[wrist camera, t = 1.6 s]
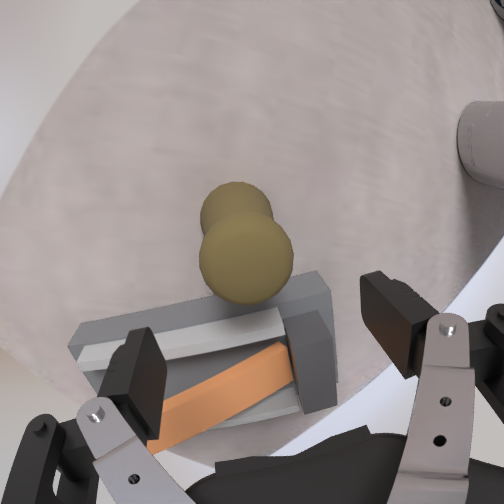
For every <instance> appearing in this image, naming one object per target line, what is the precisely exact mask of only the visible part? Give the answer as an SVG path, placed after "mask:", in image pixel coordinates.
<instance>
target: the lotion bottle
mask: <svg viewBox="0 0 504 504" xmlns="http://www.w3.org/2000/svg"><path fill="white" fill-rule="evenodd" d="M490 1H491V3H492V5H493V7H494V9H495V10H496V12H497V13H498V14H499V16H500V17H501V18H502V19H503V20H504V0H490Z"/></svg>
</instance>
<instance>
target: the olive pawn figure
mask: <svg viewBox="0 0 504 504" xmlns="http://www.w3.org/2000/svg"><path fill="white" fill-rule="evenodd" d="M200 220H201V226H202V230H203V233H204V236H205V237H204V239H203V242H202V245H201V249H200V253H199V263H200V270H201V273H202V275H203V278H204V281H205V282H206V284H207V285H208V287H209V288H210V289H211V290H212V291H213V293H214V294H215V295H217V296H218V297H220V298H222V299H223V300H225V301H227V302H230V303H234V304H238V305H254V304H258V303H261V302H264V301H267V300H269V299H270V298H272V297H273V296H275V295H276V294H278V293H279V292H280V291H281V289H282V288H283V287H284V286H285V285H286V284H287V282H288V280H289V277H290V275H291V273H292V269H293V258H294V253H293V249H292V245H291V241H290V239H289V238H288V236H287V235H286V233H285V232H284V230H283V229H282V227H281V226H280V225H279V224H277V223H276V222H275V221H274V219H273V213H272V209H271V205H270V202H269V200H268V199H267V198H266V196H265V195H264V193H263V192H262V191H260V190H259V189H258V188H256V187H255V186H253V185H250V184H247V183H244V182H230V183H227V184H224V185H220V186H219V187H218V188H216V189H215V190H213V191H212V192H211V193H210V194H209V195H208V197H207V198H206V199H205V201H204V203H203V206H202V209H201V212H200Z"/></svg>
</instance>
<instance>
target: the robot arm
mask: <svg viewBox="0 0 504 504" xmlns="http://www.w3.org/2000/svg"><path fill="white" fill-rule="evenodd" d="M457 136H458V149H459V154H460V158H461V161H462V163H463V166H464V168H465V170H466V171H467V172H468V174H469V175H470V176H471V177H472V178H473V179H474V180H476V181H478V182H481V183H484V184H488V185H491V186H494V187H497V188H501V189H503V190H504V102H500V101H477V102H474V103H471V104H470V105H469V106H467V108H466V109H465V110H464V111H463V114H462V116H461V118H460V122H459V126H458V135H457ZM360 296H361V314H362V318H363V321H364V323H365V325H366V327H367V328H368V329H369V331H370V332H371V333H372V335H373V336H374V337H375V339H376V340H377V341H378V343H379V344H380V345H381V347H382V348H383V350H384V351H385V352H386V354H387V355H388V356H389V358H390V359H391V361H392V362H393V363H394V365H395V366H396V367H397V369H398V370H399V372H400V373H401V374H402V376H403V377H404V379H408V378H410V377H412V376H415V375H416V376H417V377H418V378H419V380H418V385H417V390H416V396H415V400H414V405H413V410H412V414H411V418H410V423H409V427H408V430H407V434H406V436H405V435H401V434H394V433H375V434H371V433H370V431H369V429H368V427H367V425H364V426H362V427H359V428H356V429H353V430H350V431H347V432H344V433H341V434H338V435H335V436H332V437H329V438H328V439H326V440H324V441H322V442H320V443H318V444H316V445H315V446H313V447H311V448H309V449H307V450H305V451H303V452H301V453H299V454H296V455H294V456H275V457H273V456H251V457H246V458H240V459H234V460H228V461H221V462H215V473H213V474H211V475H209V476H206V477H204V478H202V479H201V480H199V481H197V482H196V483H194V484H193V485H192V486H190V487H189V488H188V489H187V490H186V491H184V490H183V489H182V488H181V487H180V486H179V485H178V484H177V483H176V482H175V480H174V479H173V478H172V477H171V476H170V475H169V474H168V473H167V471H166V470H165V469H164V468H163V467H162V466H161V465H160V463H159V462H158V461H157V460H156V459H155V458H154V456H153V455H152V454H151V453H150V451H149V450H148V449H147V448H146V447H147V440H159V434H160V426H161V417H162V409H163V401H164V394H165V386H166V379H167V365H166V361H165V358H164V356H163V354H162V352H161V350H160V347H159V345H158V343H157V341H156V339H155V336H154V334H153V332H152V330H151V329H150V328H149V327H144V328H138V329H133V330H130V331H129V333H128V335H127V338H126V341H125V344H123V345H120V346H119V347H118V348H117V349H116V351H115V352H114V353H113V354H112V357H111V359H110V362H109V365H108V367H107V370H106V372H107V373H105V375H104V378H103V381H102V384H101V387H100V389H99V392H98V395H97V398H93V399H91V400H89V401H87V402H86V403H84V404H83V405H82V406H81V407H80V409H79V410H78V412H77V416H76V419H72V420H69V421H66V422H62V423H58V421H57V420H56V419H55V418H54V417H53V416H52V415H50V414H42V415H39V416H37V417H35V418H34V419H32V421H30V423H29V424H28V426H27V427H26V430H25V432H24V435H23V438H22V440H21V443H20V445H19V448H18V451H17V454H16V456H15V459H14V462H13V466H12V468H11V471H10V474H9V478H8V481H7V484H6V487H5V491H4V494H3V498H2V502H1V504H96V497H97V490H98V482H99V476H100V478H101V480H102V481H103V483H104V485H105V487H106V488H107V490H108V492H109V493H110V495H111V496H112V498H113V500H114V501H115V503H116V504H504V468H503V467H500V466H496V465H492V464H489V463H485V462H482V461H479V460H475V459H472V458H469V457H470V450H471V440H472V431H473V430H472V429H473V418H474V397H475V386H476V387H477V388H478V390H479V391H480V392H481V394H482V395H483V396H484V398H485V399H486V400H487V402H488V403H489V404H490V406H491V407H492V409H493V410H494V411H495V413H496V414H497V415H498V417H499V418H500V419H501V421H502V422H503V424H504V304H495V305H493V306H491V307H490V308H489V309H488V310H487V314H486V318H485V320H481V321H475V322H470V323H467V322H466V320H465V319H464V318H462V317H461V316H459V315H456V314H452V313H441V314H440V313H439V312H438V311H437V310H436V309H434V308H433V307H432V306H431V305H430V304H429V303H428V302H427V301H425V300H424V299H423V298H422V297H420V295H419V294H417V293H416V292H415V291H413V289H412V288H411V287H409V286H408V285H407V284H406V283H404V282H401V281H398V280H396V279H393V280H390V279H389V278H388V277H387V276H386V275H385V274H383V273H382V272H381V271H375V272H372V273H368V274H365V275H362V276H361V277H360ZM56 469H57V470H58V471H59V472H60V473H61V477H60V481H59V485H58V490H57V495H56V496H55V494H54V492H53V480H54V476H55V472H56Z"/></svg>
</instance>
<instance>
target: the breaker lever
mask: <svg viewBox="0 0 504 504" xmlns="http://www.w3.org/2000/svg"><path fill="white" fill-rule="evenodd" d="M291 381H293V376H292V371H291V366H290V361H289V356H288V351H287V347H286V346H284V345H283V344H282V343H280V342H279V341H278V342H276V343H275V344H273V345H271V346H269V347H267V348H266V349H264V350H262V351H260V352H259V353H257V354H255V355H253V356H251V357H249V358H248V359H246V360H244V361H242V362H240V363H238V364H236V365H235V366H233V367H231V368H229V369H227V370H225V371H223V372H221V373H219V374H217V375H215V376H213V377H212V378H210V379H208V380H206V381H204V382H202V383H200V384H198V385H196V386H194V387H191V388H189V389H187V390H185V391H183V392H181V393H179V394H177V395H175V396H173V397H171V398H168V399H166V400H164V401H163V409H162V417H161V426H160V434H159V440H147V447H146V448H147V449H148V450H149V451H150V453H151V454H152V455H154V454H156V453H158V452H161V451H163V450H165V449H167V448H169V447H172V446H174V445H176V444H178V443H180V442H182V441H185V440H187V439H189V438H191V437H193V436H195V435H197V434H199V433H201V432H203V431H205V430H207V429H209V428H211V427H213V426H215V425H217V424H219V423H221V422H222V421H224V420H226V419H228V418H230V417H232V416H234V415H235V414H237V413H239V412H241V411H243V410H244V409H246V408H248V407H250V406H252V405H253V404H255V403H257V402H258V401H260V400H262V399H264V398H265V397H267V396H269V395H270V394H272V393H274V392H275V391H277V390H278V389H280V388H282V387H283V386H285V385H287V384H288V383H290V382H291Z"/></svg>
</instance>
